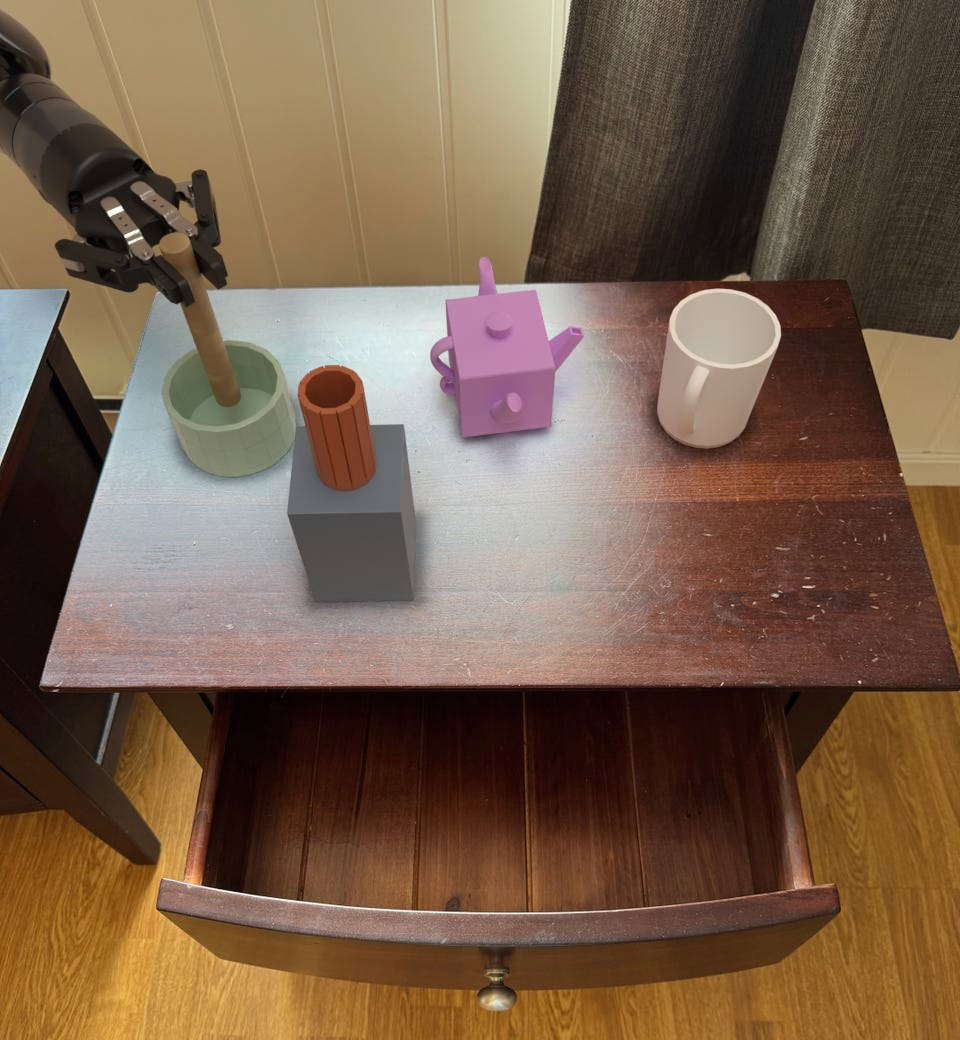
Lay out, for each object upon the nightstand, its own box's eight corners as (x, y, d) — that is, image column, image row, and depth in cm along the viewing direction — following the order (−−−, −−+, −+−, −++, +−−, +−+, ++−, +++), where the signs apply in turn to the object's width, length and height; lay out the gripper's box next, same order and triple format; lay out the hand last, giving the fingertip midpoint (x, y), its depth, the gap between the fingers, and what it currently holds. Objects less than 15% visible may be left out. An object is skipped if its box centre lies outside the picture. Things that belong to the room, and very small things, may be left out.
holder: (314, 602, 78) (262, 438, 61) (321, 521, 82) (273, 344, 64) (413, 600, 78) (390, 435, 60) (415, 519, 82) (393, 342, 64)
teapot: (596, 469, 84) (608, 390, 76) (446, 488, 83) (441, 410, 75) (559, 322, 93) (565, 236, 84) (423, 338, 92) (415, 253, 83)
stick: (220, 411, 82) (163, 256, 68) (212, 393, 83) (154, 237, 69) (244, 402, 83) (193, 247, 69) (236, 385, 84) (184, 228, 70)
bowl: (175, 479, 84) (153, 433, 79) (190, 389, 89) (171, 341, 84) (291, 476, 84) (278, 430, 79) (300, 387, 89) (288, 338, 84)
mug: (674, 365, 90) (694, 275, 81) (765, 399, 88) (796, 310, 79) (625, 447, 85) (641, 361, 76) (721, 484, 83) (748, 401, 74)
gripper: (-19, 165, 71) (102, 290, 64) (144, 88, 75) (273, 198, 68) (25, 250, 77) (139, 372, 71) (173, 175, 81) (293, 283, 75)
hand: (204, 286), depth 70 cm, fingers closed on stick, 2 cm apart
